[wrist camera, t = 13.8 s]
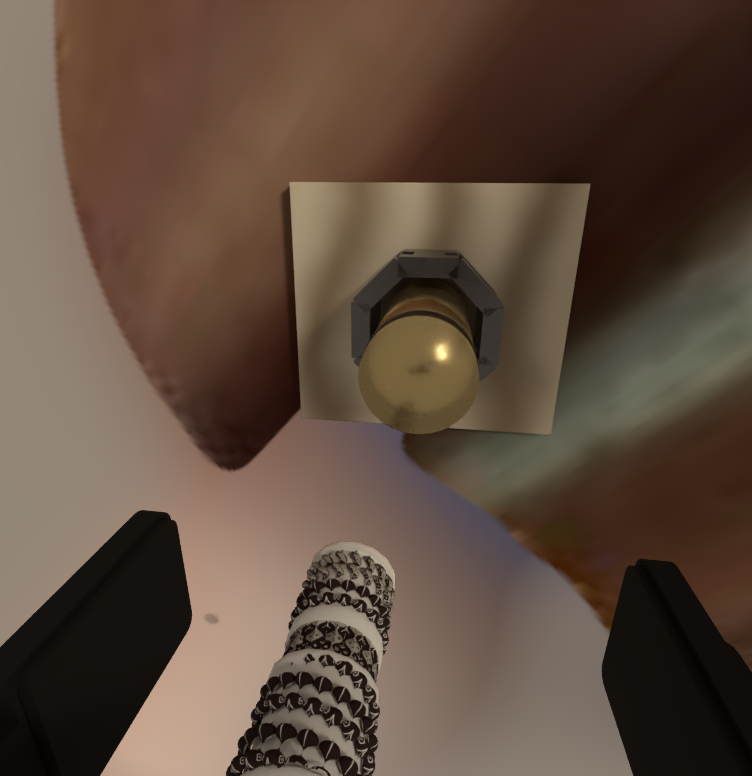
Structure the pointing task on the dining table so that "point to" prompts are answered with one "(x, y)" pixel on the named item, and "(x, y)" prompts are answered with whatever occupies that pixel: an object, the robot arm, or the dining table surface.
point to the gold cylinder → (421, 360)
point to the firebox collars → (431, 266)
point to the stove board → (442, 232)
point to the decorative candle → (325, 673)
